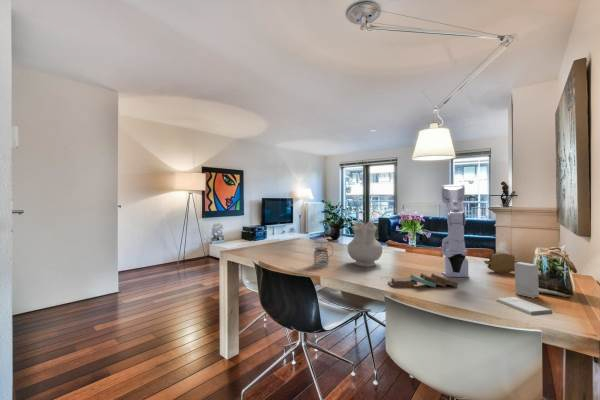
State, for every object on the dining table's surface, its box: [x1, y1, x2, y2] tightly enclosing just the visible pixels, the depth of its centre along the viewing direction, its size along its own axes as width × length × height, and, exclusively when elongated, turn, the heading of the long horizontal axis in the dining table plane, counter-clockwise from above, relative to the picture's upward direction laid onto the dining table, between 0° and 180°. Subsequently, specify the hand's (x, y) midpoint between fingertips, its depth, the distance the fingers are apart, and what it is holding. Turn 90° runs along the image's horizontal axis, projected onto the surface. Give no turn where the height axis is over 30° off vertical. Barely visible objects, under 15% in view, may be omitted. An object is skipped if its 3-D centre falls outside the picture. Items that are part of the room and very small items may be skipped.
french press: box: [312, 220, 334, 269], centre depth 156 cm, size 10×12×25 cm
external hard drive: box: [496, 296, 553, 316], centre depth 95 cm, size 2×8×12 cm
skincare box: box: [514, 261, 540, 299], centre depth 106 cm, size 6×4×12 cm
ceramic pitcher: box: [347, 220, 383, 268], centre depth 158 cm, size 22×20×25 cm
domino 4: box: [419, 273, 447, 288], centre depth 119 cm, size 2×5×9 cm
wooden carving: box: [483, 252, 518, 274], centre depth 140 cm, size 16×5×10 cm, turn 80°
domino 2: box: [391, 277, 418, 286], centre depth 120 cm, size 2×5×9 cm
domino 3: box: [409, 274, 437, 288], centre depth 118 cm, size 2×5×9 cm
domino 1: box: [387, 280, 414, 288], centre depth 120 cm, size 2×5×9 cm
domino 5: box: [430, 273, 459, 288], centre depth 119 cm, size 2×5×9 cm
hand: (456, 272), depth 118 cm, fingers closed
